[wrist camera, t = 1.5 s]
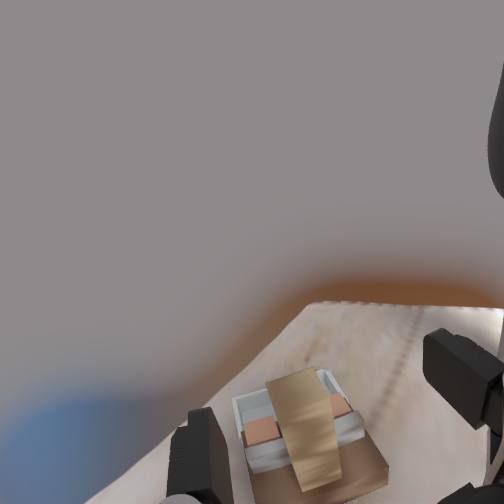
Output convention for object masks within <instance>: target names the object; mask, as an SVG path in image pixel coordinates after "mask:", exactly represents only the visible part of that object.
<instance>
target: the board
mask: <svg viewBox="0 0 504 504" xmlns="http://www.w3.org/2000/svg"><path fill="white" fill-rule="evenodd" d="M344 399H345V397H344ZM345 401H346V402H347V400H346V399H345ZM347 404H348V406H349V407H350V409H351V411H352V412H354V411H353V409H352V408H351V406H350V405H349V403H348V402H347ZM275 423H276V426H277V429H278V432H279V435H280V437H281V438H283V436H282V433H281V430H280V427H279V424H278V421H276V422H275ZM241 437H242V441H243V446H244V451H245V448H249V447H248V445H247V440H246V436H245V431H241ZM338 451H339V458H340V465H341V472H342V478H341V479H338V480H336V481H333V482H330V483H328V484H325V485H322V486H319V487H316V488H314V489H311V490H308V491H304V492H302V490H301V488H300V485H299V482H298V479H297V476H296V474H295V471H294V468H293V465H292V464H289V465H286V466H283V467H280V468H276V469H273V470H269V471H266V472H262V473H258V474H254V473H253V471H252V469H251V467H250V465H249V463H248V461H247V459H246V461H247V466H248V470H249V475H250V480H251V484H252V489H253V493H254V498H255V502H256V504H343V503H345V502H348V501H350V500H353V499H355V498H358V497H360V496H363V495H365V494H367V493H369V492H372V491H374V490H376V489H378V488H381V487H383V486H385V485H387V482H388V472H389V465H388V464H387V462H386V461H385V459H384V458H383V456H382V455H381V453H380V451H379V450H378V448H377V447H376V445H375V444H374V442H373V441H372V439H371V437H370V436H369V434H368V433H367V431H366V430H365V428H364V437H362V438H360V439H358V440H355V441H353V442H350V443H348V444H345V445H343V446H340V447H338ZM245 456H246V454H245Z"/></svg>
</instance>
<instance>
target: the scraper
mask: <svg viewBox="0 0 504 504" xmlns="http://www.w3.org/2000/svg"><path fill="white" fill-rule="evenodd" d="M265 384H266V387H267V390H268V393H269V396H270V399H271V402H272V405H273V408H274V411H275V414H276V418H277V421H278V424H279V427H280V430H281V433H282V436H283V438H280V439H277V440H274V441H270V442H267V443H264V444H260V445H256V446H253V447H249V448H245V454H246V459H247V461H248V463H249V465H250V467H251V469H252V471H253V473H254V474H258V473H262V472H266V471H269V470H273V469H276V468H280V467H283V466H286V465H289V464H292V465H293V468H294V471H295V474H296V476H297V479H298V482H299V485H300V488H301V490H302V492H304V491H308V490H311V489H314V488H316V487H319V486H322V485H325V484H328V483H330V482H333V481H336V480H338V479H341V478H342V472H341V465H340V458H339V451H338V447H340V446H343V445H345V444H348V443H350V442H353V441H355V440H358V439H360V438H362V437H364V419H363V418H362V416H361V415H360V413H359V412H358V410H357V411H355V412H352V413H350V414H347V415H345V416H342V417H340V418H337V419H335V420H334V418H333V411H332V405H331V399H330V396H329V394H328V392H327V391H326V389H325V387H324V385H323V384H322V382H321V380H320V379H319V377H318V375H317V373H316V372H315V370H314V368H313V367H312V368H309V369H306V370H303V371H300V372H297V373H294V374H291V375H288V376H285V377H282V378H279V379H276V380H273V381H270V382H267V383H265Z"/></svg>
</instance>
